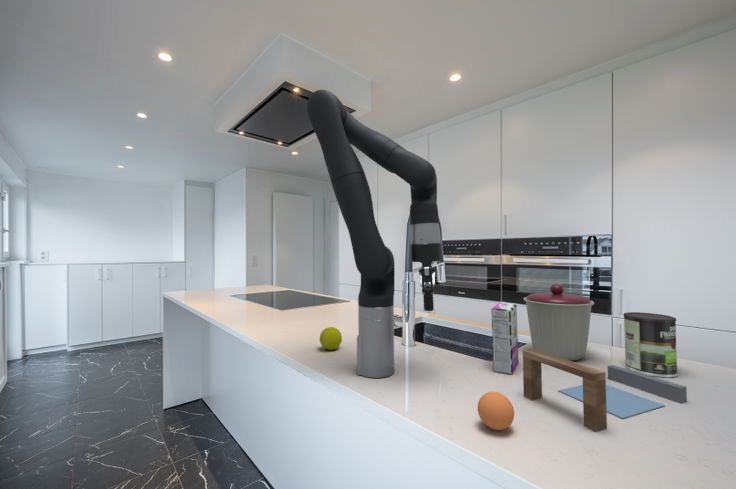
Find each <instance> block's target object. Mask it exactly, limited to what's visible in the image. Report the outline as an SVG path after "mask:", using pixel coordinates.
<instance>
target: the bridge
mask: <svg viewBox="0 0 736 489" xmlns="http://www.w3.org/2000/svg"><path fill="white" fill-rule="evenodd" d="M542 364H544V365H547V366H549V367H552V368H554V369H557V370H559V371H560V370H561V371H563V372H566V373H569V374H572V375H574V376H577V377H580V378H582V385H583V402H582V408H583V411H582V412H583V427H584V428H586V429H589V430H590V431H592V432H594V433H598V432H600V431H604V430H607V429H608V415H607V414H608V413H607V408H606V385H607V383H606V382H607V380H606V379H607V378H606V377H607V375H606V374H607V373H606V371H603V370H600V369H597V368H594V367H591V366H589V365H585V364H582V363H578V362H576V361H569V360H566V359H563V358H560V357H557V356H554V355H551V354H548V353H545V352H541V351H538V350H535V349H534V348H530V349H524V350H522V374H523V375H522V379H523V380H522V381H523V382H522V383H523V397H524V398H526V399H528V400H530V401H534V400H539V399H542V398H543V383H542V382H543V379H542V375H543V374H542V372H543V371H542Z"/></svg>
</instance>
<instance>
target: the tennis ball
mask: <svg viewBox="0 0 736 489" xmlns="http://www.w3.org/2000/svg"><path fill="white" fill-rule="evenodd" d="M342 337H343V336H342V334H341V331H340V330H339V329H338V328H336V327H333V326H331V327H330V326H329V327H326V328H324V329H323V330H322V331H321V332H320V336H319V342H320V345H321V346H322V348H324V349H325V350H327V349H328V351H333V349H334V350H336V349H337V348H339V347H340V345H341V344H342V340H343V338H342Z"/></svg>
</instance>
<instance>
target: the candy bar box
mask: <svg viewBox="0 0 736 489" xmlns="http://www.w3.org/2000/svg"><path fill="white" fill-rule="evenodd" d="M517 305H518V304H517V303H511V302H498V303H497V304H496V305H495V306H493V307H492V308H491V309H490V310H491V334H492V338H491V339H492V362H493V363H492V364H493V365H492V367H493V372H496V373H499V374H506V375H513V374H514V372H515V370H516V368H517V366H518V363H519V360H520V359H519V338H518V337H519V334H518V313H517V312H518V311H517V310H518V309H517V308H518V307H517Z"/></svg>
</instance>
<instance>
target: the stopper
mask: <svg viewBox="0 0 736 489" xmlns="http://www.w3.org/2000/svg"><path fill="white" fill-rule="evenodd" d="M607 379H608V380H611V381H613V382H617V383H620V384H623V385H626V386H629V387H630V388H631V387H632V388H635V389H637V390H641V391H644V392H645V393H646V392H647V393H650V394H652V395H656V396H658V397H662V398H664V399H667V400H670V401H674V402H676V403H678V404H683V403H687V402H688V401H687V400H688V398H687V397H688V396H687V394H688V393H687V386H685V385H682V384H679V383H675V382H672V381H668V380H665V379H663V378H662V379H661V378H660V377H655V376H649V375H645V374H642V373H638V372H635V371H632V370H629V369H628V368H626V367H625V368H624V367H622V366H617V365H616V364H615V365H614V364H611V365H607Z"/></svg>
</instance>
